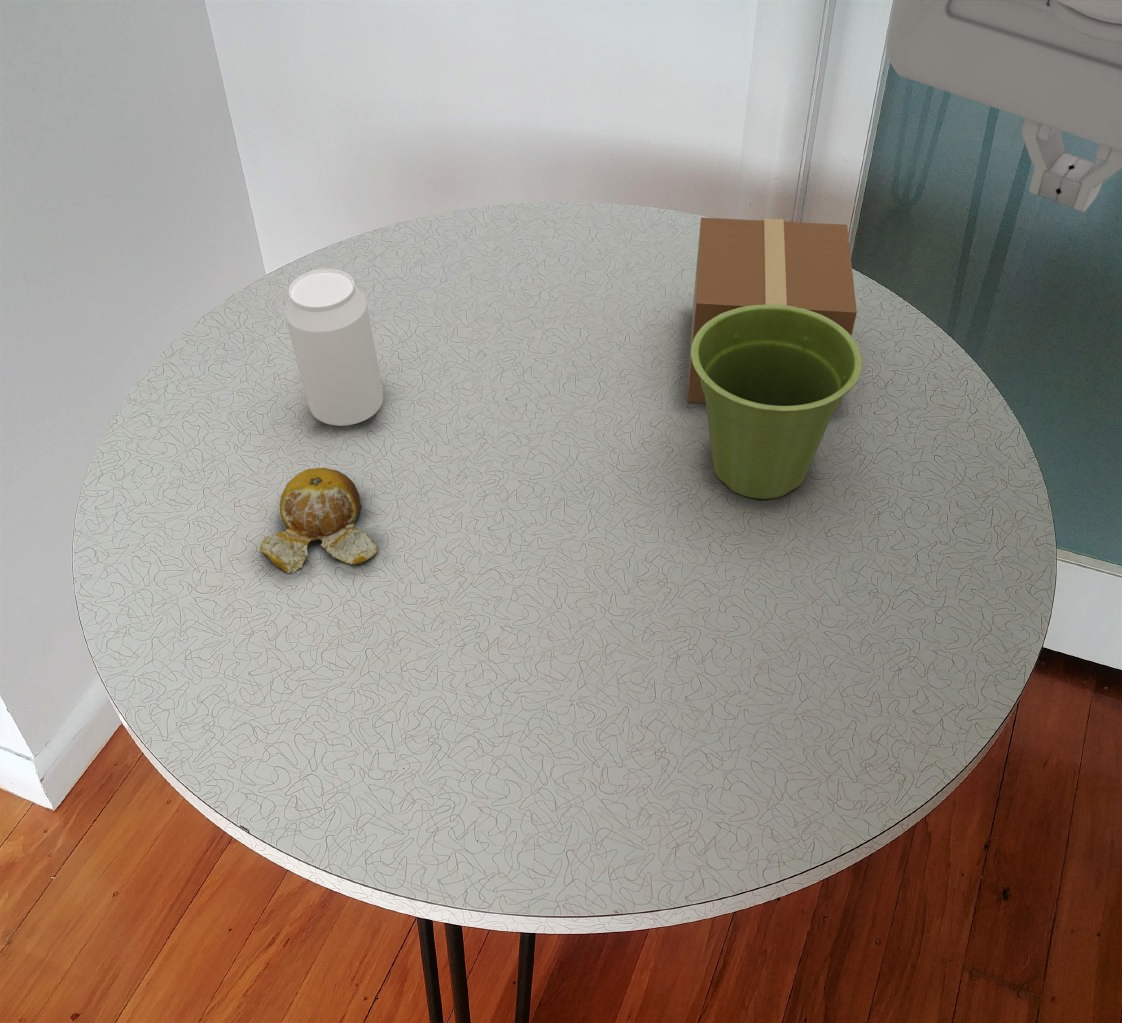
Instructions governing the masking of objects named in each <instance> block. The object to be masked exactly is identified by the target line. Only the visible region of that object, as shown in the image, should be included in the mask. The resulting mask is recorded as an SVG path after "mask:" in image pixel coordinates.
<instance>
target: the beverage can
mask: <svg viewBox="0 0 1122 1023" xmlns="http://www.w3.org/2000/svg"><path fill="white" fill-rule="evenodd" d="M284 317H285V321H286V326H287V329H288V333H289V337H290V339H291V340H290V341H291V344H292V348H293V352H294V356H295V360H296V364H297V369H298V371H299V376H300V380H301V383H302V387H303V391H304V395H305V398H306V402H307V405H308V409H309V411H310V413H311V415H312V416H313V417H314V418H315V419H316V420H318V421H319V422H321V423H324V424H327V425H330V426H337V427H344V426H352V425H355V424H359V423H362V422H364V421H366V420H368V419H370V418H371V417H373V416H374V415H375V414H376V413H377V412H378V411H379V410H380V408H381V407H382V405H383V402H384V388H383V383H382V377H381V372H380V366H379V361H378V356H377V355H378V354H377V348H376V344H375V338H374V334H373V328H372V323H371V317H370V312H369V306H368V301H367V298H366V295H365V294H364V293H363V292H362V291H361V290H360V289H359V288H358V286H357V285H356V284H355V280H354V279H353V277H352V276H351V275H350V274H349V273H347V272H346V271H343V270H339V269H335V268H319V269H314V270H310V271H308V272H305V273H302V274H301V275H299V276H298V277H296V278H295V279H294V280H293V281H292V282H291V283H290V284H289V287H288V298H287V302H286V304H285V307H284Z"/></svg>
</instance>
